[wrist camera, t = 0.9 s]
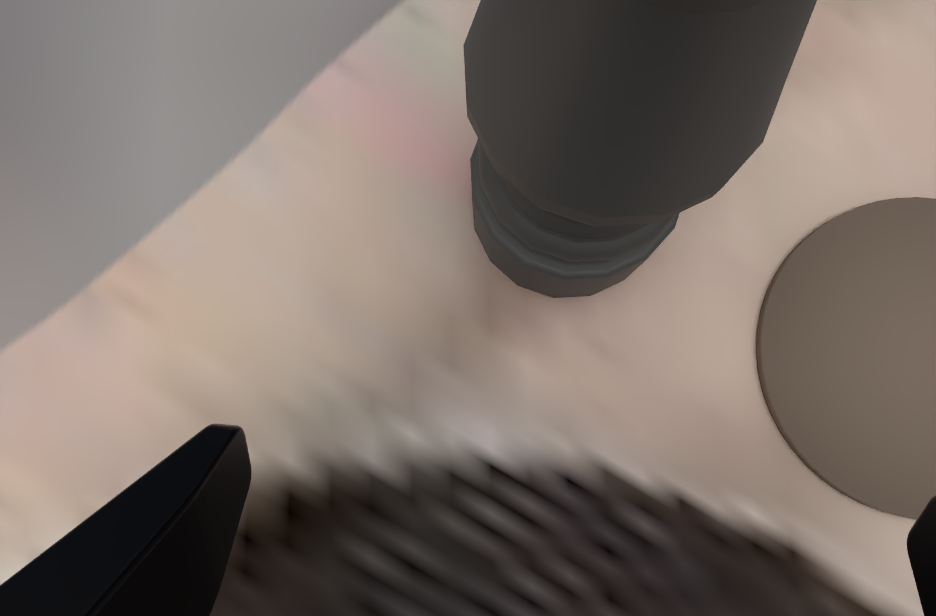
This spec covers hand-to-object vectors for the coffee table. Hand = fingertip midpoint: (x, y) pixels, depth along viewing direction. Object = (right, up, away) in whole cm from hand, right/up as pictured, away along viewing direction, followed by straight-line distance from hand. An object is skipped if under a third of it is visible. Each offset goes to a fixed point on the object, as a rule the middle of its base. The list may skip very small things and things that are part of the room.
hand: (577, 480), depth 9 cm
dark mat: (+13, +1, +13) cm, 18 cm away
